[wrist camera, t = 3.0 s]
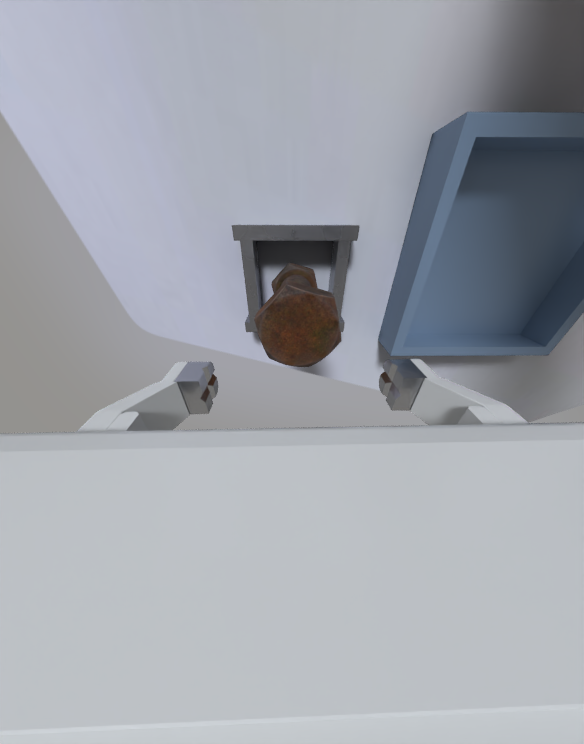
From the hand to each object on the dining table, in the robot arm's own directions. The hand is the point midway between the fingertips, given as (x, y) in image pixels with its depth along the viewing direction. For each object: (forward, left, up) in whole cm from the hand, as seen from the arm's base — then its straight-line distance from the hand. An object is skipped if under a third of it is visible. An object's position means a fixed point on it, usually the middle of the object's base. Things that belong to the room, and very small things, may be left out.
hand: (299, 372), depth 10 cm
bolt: (0, 0, -19) cm, 19 cm away
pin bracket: (0, 0, -19) cm, 19 cm away
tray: (-22, -2, -19) cm, 29 cm away
